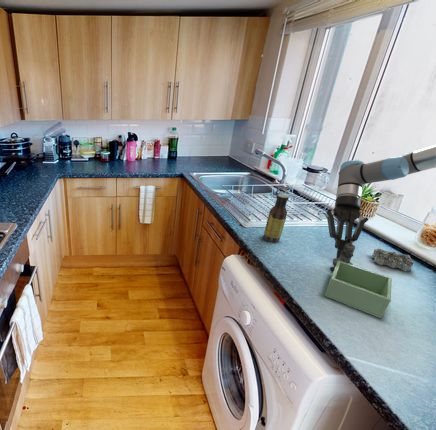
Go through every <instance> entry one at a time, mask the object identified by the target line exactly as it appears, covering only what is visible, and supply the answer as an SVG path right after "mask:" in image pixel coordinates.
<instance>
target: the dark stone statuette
mask: <svg viewBox="0 0 436 430" xmlns="http://www.w3.org/2000/svg"><path fill="white" fill-rule="evenodd" d="M355 250H356V246H355V245H354V242H350V244H349V243H348V244H345V246H344V248H343V250H342V251H341V254H340V257H339V258H336V257H334V258H332V265H333V266H331V267H330V268H329V269H330V271H331V272H332V273H333V271H334V269H335V266H336V264H337V262H338V261H341V262H344V263H347V264H350V265H353V266H354V264H353V263H352V262H351V260H352V257H354V252H355Z"/></svg>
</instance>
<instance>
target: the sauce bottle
mask: <svg viewBox="0 0 436 430" xmlns="http://www.w3.org/2000/svg"><path fill="white" fill-rule="evenodd" d="M288 201H289V195H288V194H284V193H278V194H277V195H276V201H275V204H274V205H273V206H272V207H271V208H270V210H269V213H268V217H267V220H266V224H265V227H264V231H263V239H265V240H266V241H267V242H271V243H278V242H279V241H280V238H281V236H282V234H283V230H284V226H285V223H286V220H287V215H288V210H287V208H286V206H287V204H288V203H287V202H288Z"/></svg>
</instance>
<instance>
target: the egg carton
mask: <svg viewBox="0 0 436 430" xmlns="http://www.w3.org/2000/svg"><path fill="white" fill-rule="evenodd" d="M371 258H372V259H373V263H376V264H378V265H379V266H383V265H384V266H388V267H389V268H392V269H395V268H396V269H400V270H401V271H404V272H408V271H411V269H412V267H415V265H414V262H413V259H412V258H411V255H410V254H405V253H404V254H401V253H397V252H394V251H389V250H385V249H382V248H373V253H372V255H371Z"/></svg>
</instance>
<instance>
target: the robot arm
mask: <svg viewBox="0 0 436 430" xmlns="http://www.w3.org/2000/svg"><path fill="white" fill-rule="evenodd" d="M435 168H436V144H435V145H431V146H428V147H425V148H422V149H418V150H414V151H412V152H407V153H404V154H401V155H397V156H393V157H392V156H391V157H387V158H384V159H380V160H375V161H372V162H371V161H370V162H367V163H365V162H364V161H362V160H359V159H349V160H346V161H344V162H342V164H341V165H340V168H339V172H338V179H337V181H338V182H337V186H336V187H337V189H336V194H335V201H334V208H332V210H327V211H326V212H325V213H324V216H325V218H326V219H327V220H326V221H327V227H328V233H329V234H328V235H329V238H331V239H333V240H334V249H336V257H335V258H339V257H340V254H341V251H342V250H343V248H344V246H345V244H348V243H349V244H350V242H352V243H355V242H357V241H358V239H360V235H361V233H362V231H363V229H364V226H365V224H366V223H368V221H369V218H368V217H364V216H363V215H362V213H361V205H362V197H363V187H364V185H368V184H373V183H379V182H386V181H393V180H397V179H402V178H405V177H407V176H409V175H412V174H416V173H420V172H423V171H427V170H432V169H435ZM334 217H335V218H336V219H337V222H335V218H334ZM355 221H357V222H358V223H357V224H356V227H355V229H354V232H353V226H354V223H355ZM335 223H337V225H336V224H335ZM344 226H345V227H344ZM344 228H345V230H344ZM344 231H345V232H344ZM343 232H344V239H343Z"/></svg>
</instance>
